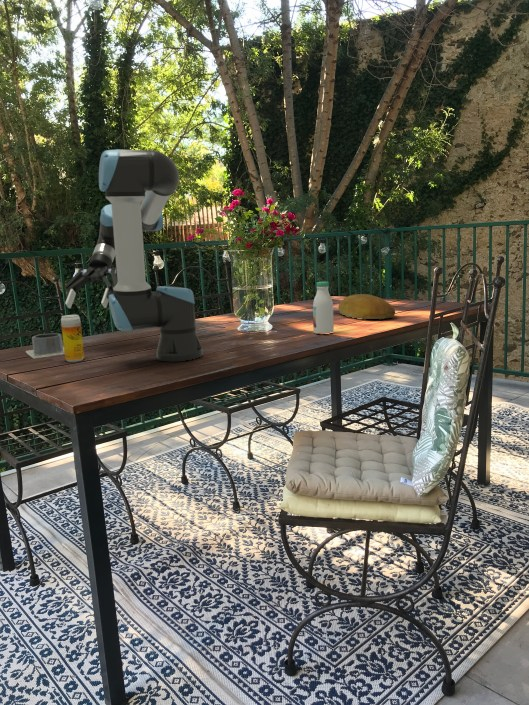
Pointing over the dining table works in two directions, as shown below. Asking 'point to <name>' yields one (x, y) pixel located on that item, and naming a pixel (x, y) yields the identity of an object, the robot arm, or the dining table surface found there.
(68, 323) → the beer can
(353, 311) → the bread
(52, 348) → the grey can holder
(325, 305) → the milk bottle
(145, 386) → the dining table surface
